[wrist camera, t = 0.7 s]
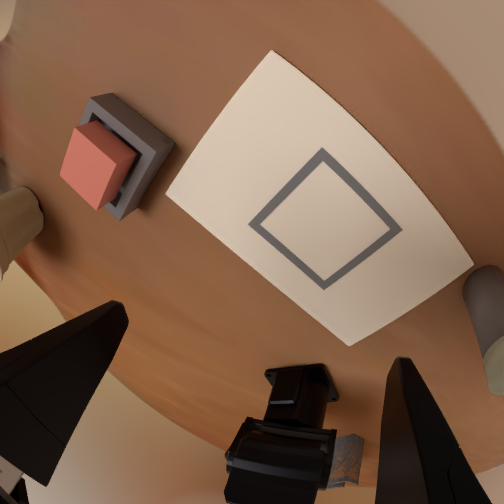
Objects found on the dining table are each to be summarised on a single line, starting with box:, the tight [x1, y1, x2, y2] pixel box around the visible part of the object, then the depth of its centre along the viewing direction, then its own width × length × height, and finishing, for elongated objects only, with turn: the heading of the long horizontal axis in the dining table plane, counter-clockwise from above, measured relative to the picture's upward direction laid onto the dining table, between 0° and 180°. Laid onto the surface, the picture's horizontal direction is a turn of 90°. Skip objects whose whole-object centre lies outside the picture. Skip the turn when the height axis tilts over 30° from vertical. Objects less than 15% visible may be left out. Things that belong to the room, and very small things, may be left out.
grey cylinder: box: [463, 265, 504, 396], centre depth 15 cm, size 4×4×9 cm
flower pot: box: [0, 187, 44, 282], centre depth 26 cm, size 9×9×9 cm
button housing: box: [79, 93, 175, 221], centre depth 21 cm, size 7×7×2 cm
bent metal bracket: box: [326, 434, 364, 489], centre depth 34 cm, size 11×3×10 cm, turn 139°
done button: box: [60, 120, 137, 211], centre depth 19 cm, size 4×4×2 cm
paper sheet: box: [166, 50, 474, 346], centre depth 20 cm, size 20×13×1 cm, turn 52°
